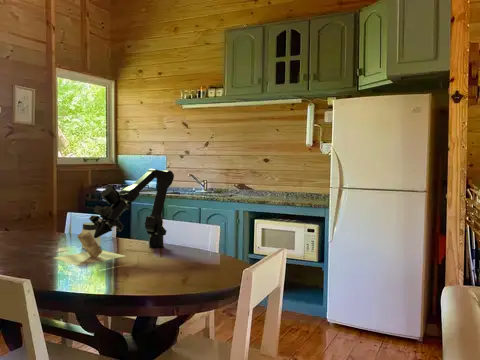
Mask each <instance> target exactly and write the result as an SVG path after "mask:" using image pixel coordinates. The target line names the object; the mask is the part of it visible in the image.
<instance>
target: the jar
mask: <svg viewBox="0 0 480 360" xmlns="http://www.w3.org/2000/svg"><path fill="white" fill-rule="evenodd" d="M96 228H97V226H95V225H94V224H93V223H92V221H90V222H84V223H82V228H81V232H83V231H84V230H85V231H89V232H90V233H91V235H92V236H93V238H94V234H95V231H96ZM101 237H102V236H100V237H98V238H94V240H95V241H96V243H97V244H98V246H99V247H101V244H102V243H101V242H102V241H101V239H102V238H101ZM81 248H82V249H85V247H84V246H83V244H82V243H81Z"/></svg>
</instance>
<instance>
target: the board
mask: <svg viewBox="0 0 480 360" xmlns="http://www.w3.org/2000/svg"><path fill="white" fill-rule="evenodd" d="M101 250H102V253H101V254H99V255H98V256H97V257H96V258H94V257H91V256H90V255H89V253H88V252H87V251H83V252H79V253H73V254H67V255H61V256H56V257H53V259H54V260H58V261H62V262H65V263H69V264H72V265H75V266H83V265H89V264H92V263H98V262H103V261H108V260H114V259H118V258H124V257H125V255H124V254H119V253H115V252H112V251H111V252H110V251H107V250H103V249H101Z"/></svg>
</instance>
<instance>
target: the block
mask: <svg viewBox="0 0 480 360" xmlns="http://www.w3.org/2000/svg"><path fill="white" fill-rule="evenodd" d="M76 237H77V238H78V240H79V241H80V243H81V245H82V244H83V246H84V247H85V248H84V249H85V250H86V252H88V253H89V255H90V256H91V257H94V258H96V257H97V256H98V255H99V254H101V253H102V250H103V249H101V248H100V247H101V246H100V247H99V246H98V244H97V243H96V241H95V240H94V238H93V236H92V235H91V233H90V232H89V231H85V230H84V231H83V232H82V231H81V232H80V233H79V234H78V235H77V236H76Z"/></svg>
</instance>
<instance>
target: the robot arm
mask: <svg viewBox="0 0 480 360" xmlns="http://www.w3.org/2000/svg"><path fill="white" fill-rule="evenodd" d="M154 179H156V183H157V189H156V194H155V199H154V202H153V207H152V211H151V214H150V215H148V216H147V215H146V217H145V222H144V228H145V231H146V233H147V235H149V237H148V246H149V247H150V248H151V249H155V248H156V249H157V248H165V246H164V236H166V234H167V230H166V229H165V227H164V226H163V225H164V224H163V223H164V221H163V217H162V214H163V209H164V205H165V202H166V197H167V193H168V189H169V188H170V187H171V185H172V184H173V181H174V180H175V174H174V172H173V171H172V170H168V169H167V170H164V169H163V170H162V169H161V170H159V169H156V168H149V169H148V170H147V171H146V172H145V173H144V174H142V176H141V177H140V178H139V179H137V180H136V181H135V182H133V184H131V185H128V186H126V187H124V188H123V189H121V190H120V191H118V190H117V189H116V188H115V186H114V185H109V187H107V188H104V189H103V190H102V191H101V192H100V195H101V197H102V198H103V200H104V201H105V202H106V203H107V204H108V205H111V206H108V205H105V206H101V205H95V207H94V210H93V213H94V215H91V216H90V217H89V218H88V219H89V221H90V222H92V223H93V224H94V225H95V226H97V228H96V231H95V234H94V238H98V237H100V236H101V237H102V236H103V235H106V234H107V233H110V232H112V231H113V228H115V229H116V231H117V232H122V230H124V225H123V223H122V221H120V219H121V218H122V216H121V215H122V213H123V212H124V211H125V210H128V211H131V207H130V203H133V202H134V201H136V200H137V198H138V197H139V196H140V192H141V191H142V190H143V189H144V188H146V187H147V186H148V185H149V184H150V183H151V182H153V180H154ZM127 202H130V203H127ZM95 214H97V215H95Z"/></svg>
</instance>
